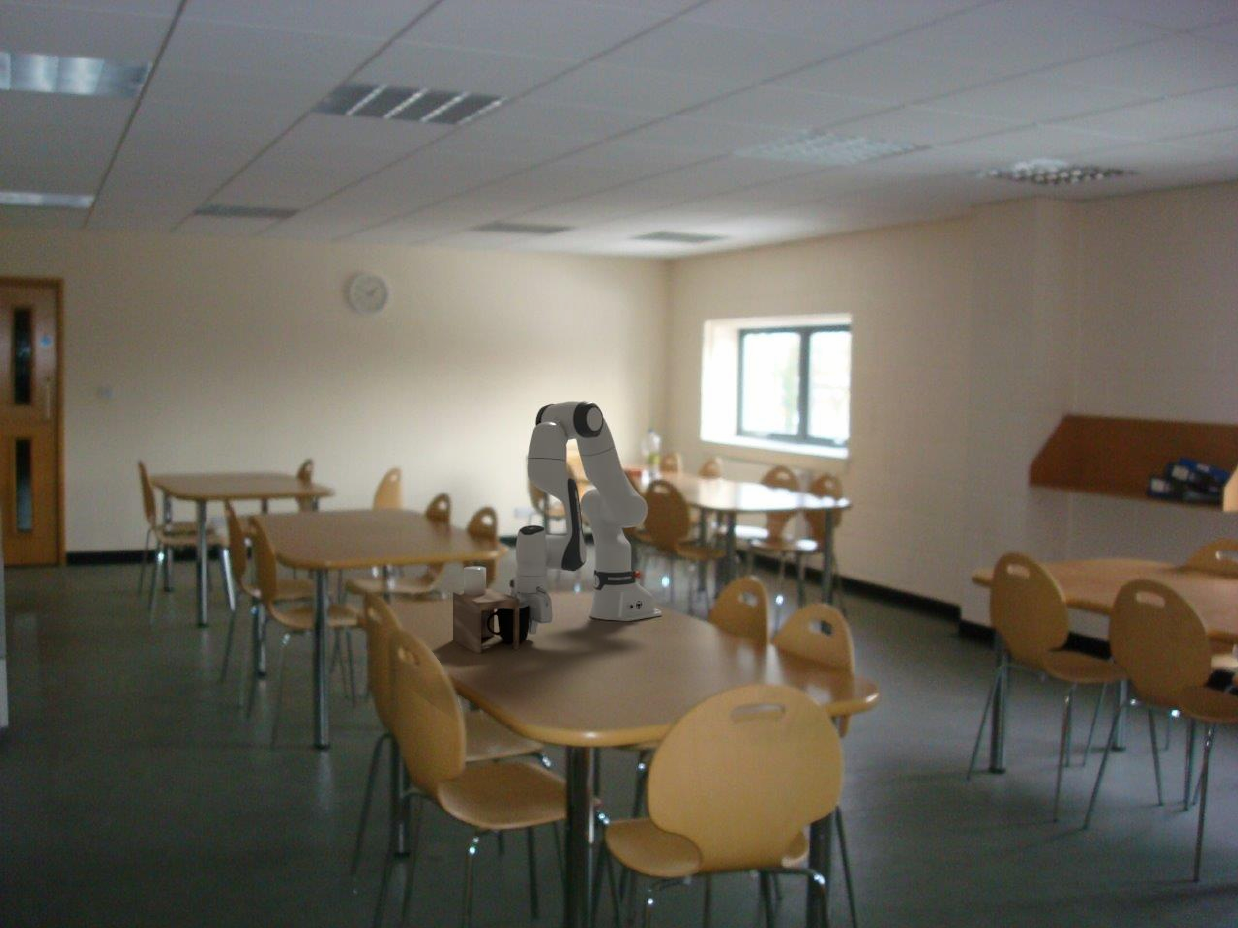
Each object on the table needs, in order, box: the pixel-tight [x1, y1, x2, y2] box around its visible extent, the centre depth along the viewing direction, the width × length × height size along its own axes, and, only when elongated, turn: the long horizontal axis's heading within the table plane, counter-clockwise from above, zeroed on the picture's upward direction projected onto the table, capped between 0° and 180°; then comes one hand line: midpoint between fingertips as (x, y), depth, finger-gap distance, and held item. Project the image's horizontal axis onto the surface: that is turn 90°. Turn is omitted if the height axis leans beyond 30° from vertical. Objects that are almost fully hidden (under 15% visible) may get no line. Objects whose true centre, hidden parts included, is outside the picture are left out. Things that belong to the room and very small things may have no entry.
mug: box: [487, 602, 530, 645], centre depth 321 cm, size 12×9×10 cm
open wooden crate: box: [452, 588, 520, 654], centre depth 318 cm, size 12×18×14 cm, turn 29°
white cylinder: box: [463, 566, 487, 595], centre depth 320 cm, size 6×6×7 cm
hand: (531, 633), depth 325 cm, fingers closed, pressing on mug
